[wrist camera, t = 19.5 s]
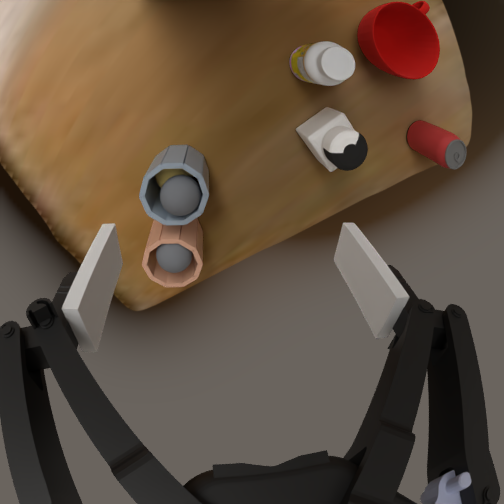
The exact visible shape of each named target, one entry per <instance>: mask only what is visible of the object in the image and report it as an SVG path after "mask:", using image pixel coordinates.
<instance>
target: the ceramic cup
mask: <svg viewBox="0 0 504 504" xmlns="http://www.w3.org/2000/svg"><path fill="white" fill-rule="evenodd" d="M429 9H430V7H429V5H428V4H427V3H426V2H425V1H419V2H416V3H414V4H413V5H410V4H408V3H404V2H391V3H387V4H384V5H381V6H378V7H376V8H374V9H373V10H371V11H369V12H368V13H367V14H366V15H365V16H364V17H363V18H362V20H361V22H360V24H359V27H358V34H357V36H358V43H359V46H360V48H361V50H362V52H363V54H364V55H365V57H366V58H367V59H368V60H369V61H370V62H371V63H372V64H373V65H375V66H376V67H377V68H379V69H381V70H383V71H385V72H387V73H389V74H392V75H395V76H398V77H402V78H406V79H420V78H423V77H425V76H427V75H428V74H430V73H431V72H432V70H433V69H434V68H435V66H436V64H437V62H438V58H439V52H440V46H439V39H438V35H437V33H436V30H435V28H434V26H433V24H432V23H431V21H430V20H429V19H428V17H427V16H426V15H425V14H426V13H427V12H428V11H429Z"/></svg>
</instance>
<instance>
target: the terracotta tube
mask: <svg viewBox="0 0 504 504" xmlns="http://www.w3.org/2000/svg"><path fill="white" fill-rule="evenodd" d="M161 244H180V245H182V246H184V247H185V248H187V249H189V250H190V251H192V260H191V263H190V265H189V266H188V267H187V268H186V269H185V270H183V271H181V272H178V273H170V272H167V271H165V270H164V269H162V268H161V266H160V265H159V264H158V261H157V258H156V250H157V247H158V246H159V245H161ZM142 266H143V268H144V270H145V271H146V273H147V275H148V277H149V278H151V280H153V281H155V282H157V283H158V284H160V285H162V286H164V287H165V286H166V287H183V286H186V285H188V284H189V283H191V282H193V281H194V280H196V279H197V278H198V276H199V274H200V271H201V268H202V266H203V230H202V228H201V225H200V223H199V220H198V219H197V218H195V219H194V220H192V221H191V222H189V223H188V224H187V225H186V224H185V225H163V224H161V223H160V222H158V221H156V220H155V219H154V221H153V225H152V228H151V231H150V235H149V238H148V242H147V245H146V249H145V253H144V257H143V262H142Z"/></svg>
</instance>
